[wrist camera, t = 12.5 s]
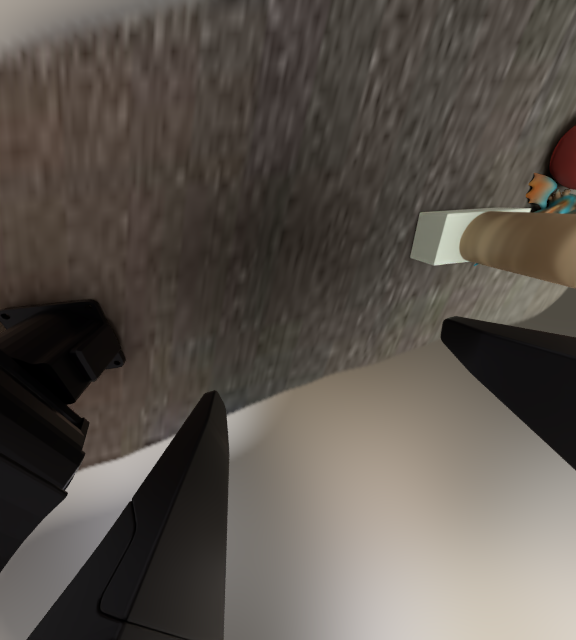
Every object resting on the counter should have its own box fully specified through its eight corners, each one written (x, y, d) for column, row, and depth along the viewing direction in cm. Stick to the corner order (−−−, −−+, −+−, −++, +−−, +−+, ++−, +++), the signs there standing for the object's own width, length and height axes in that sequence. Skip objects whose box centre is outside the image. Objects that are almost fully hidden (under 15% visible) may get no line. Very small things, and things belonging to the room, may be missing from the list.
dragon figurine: (523, 281, 25) (620, 213, 20) (502, 288, 21) (617, 205, 16) (474, 246, 28) (546, 178, 23) (448, 246, 24) (528, 164, 19)
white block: (409, 257, 22) (433, 265, 19) (419, 212, 20) (447, 213, 17) (479, 250, 23) (510, 257, 20) (494, 207, 21) (531, 208, 18)
